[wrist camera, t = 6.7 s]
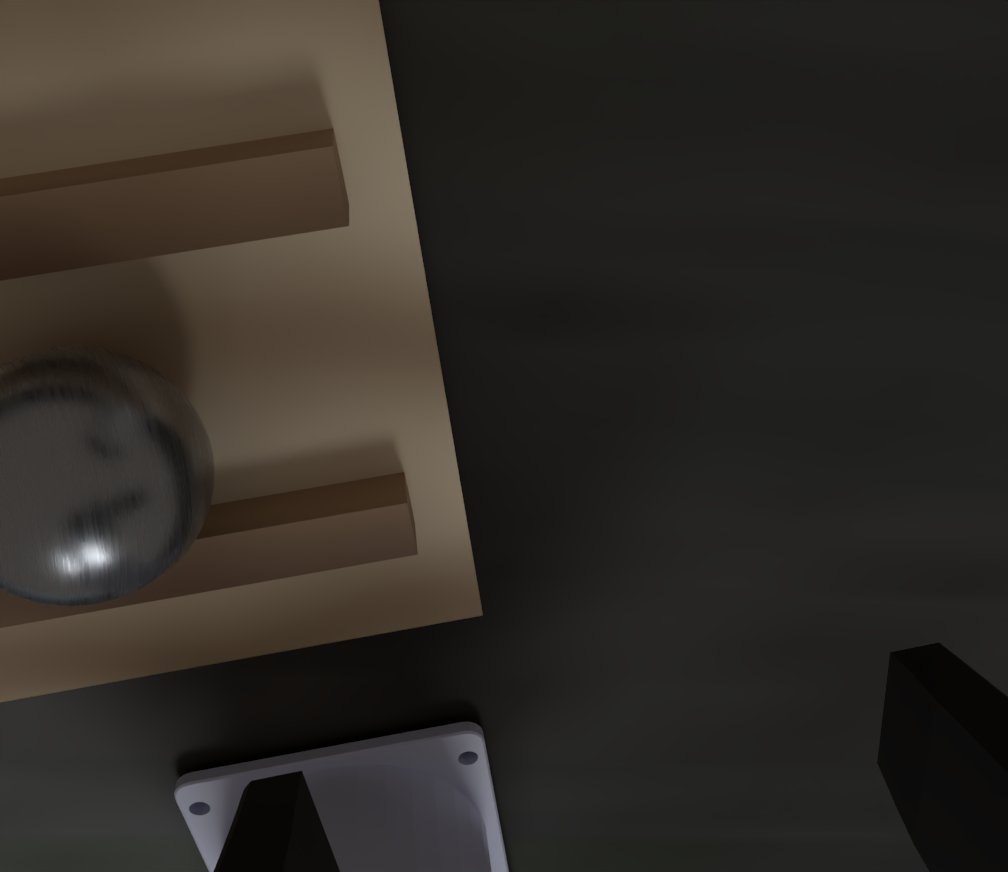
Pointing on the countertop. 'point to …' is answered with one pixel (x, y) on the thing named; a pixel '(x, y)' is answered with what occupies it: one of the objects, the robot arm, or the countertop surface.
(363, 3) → the board
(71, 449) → the ball
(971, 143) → the countertop surface
